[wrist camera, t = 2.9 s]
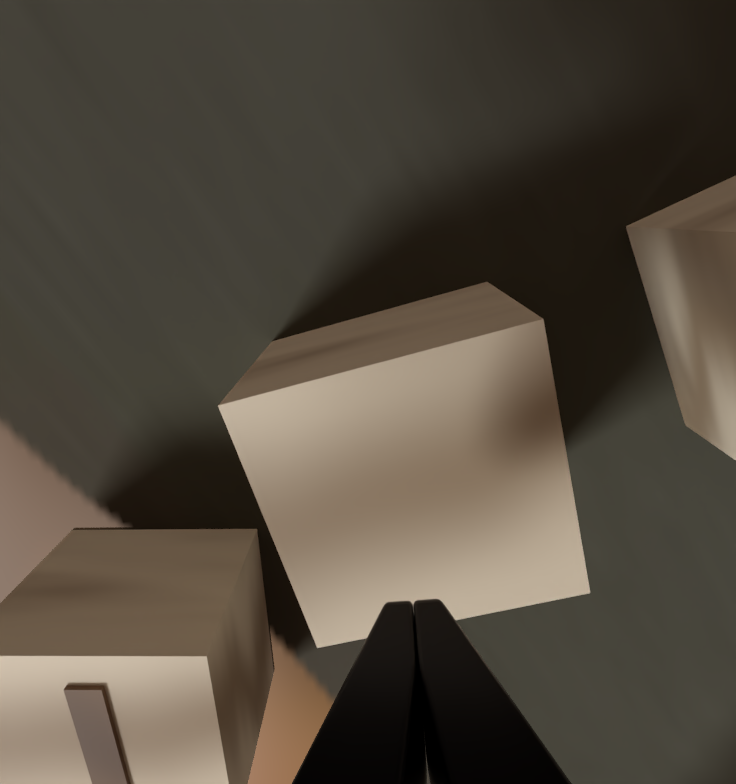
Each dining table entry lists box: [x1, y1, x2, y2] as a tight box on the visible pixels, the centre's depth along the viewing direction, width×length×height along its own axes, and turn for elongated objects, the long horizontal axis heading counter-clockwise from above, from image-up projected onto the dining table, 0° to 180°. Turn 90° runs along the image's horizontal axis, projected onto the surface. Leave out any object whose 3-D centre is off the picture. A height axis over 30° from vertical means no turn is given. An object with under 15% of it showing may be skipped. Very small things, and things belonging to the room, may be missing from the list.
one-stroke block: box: [0, 527, 275, 784], centre depth 15 cm, size 6×6×5 cm
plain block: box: [218, 282, 590, 648], centre depth 12 cm, size 6×6×5 cm
